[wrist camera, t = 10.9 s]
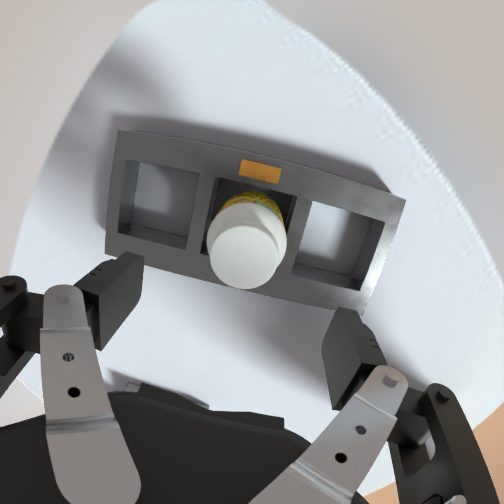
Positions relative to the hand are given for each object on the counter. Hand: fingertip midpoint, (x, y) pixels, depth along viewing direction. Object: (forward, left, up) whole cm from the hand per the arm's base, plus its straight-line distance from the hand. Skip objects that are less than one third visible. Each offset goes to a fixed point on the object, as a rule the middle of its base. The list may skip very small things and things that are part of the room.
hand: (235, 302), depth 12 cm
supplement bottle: (0, 0, -16) cm, 16 cm away
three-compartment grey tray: (0, 0, -15) cm, 15 cm away
